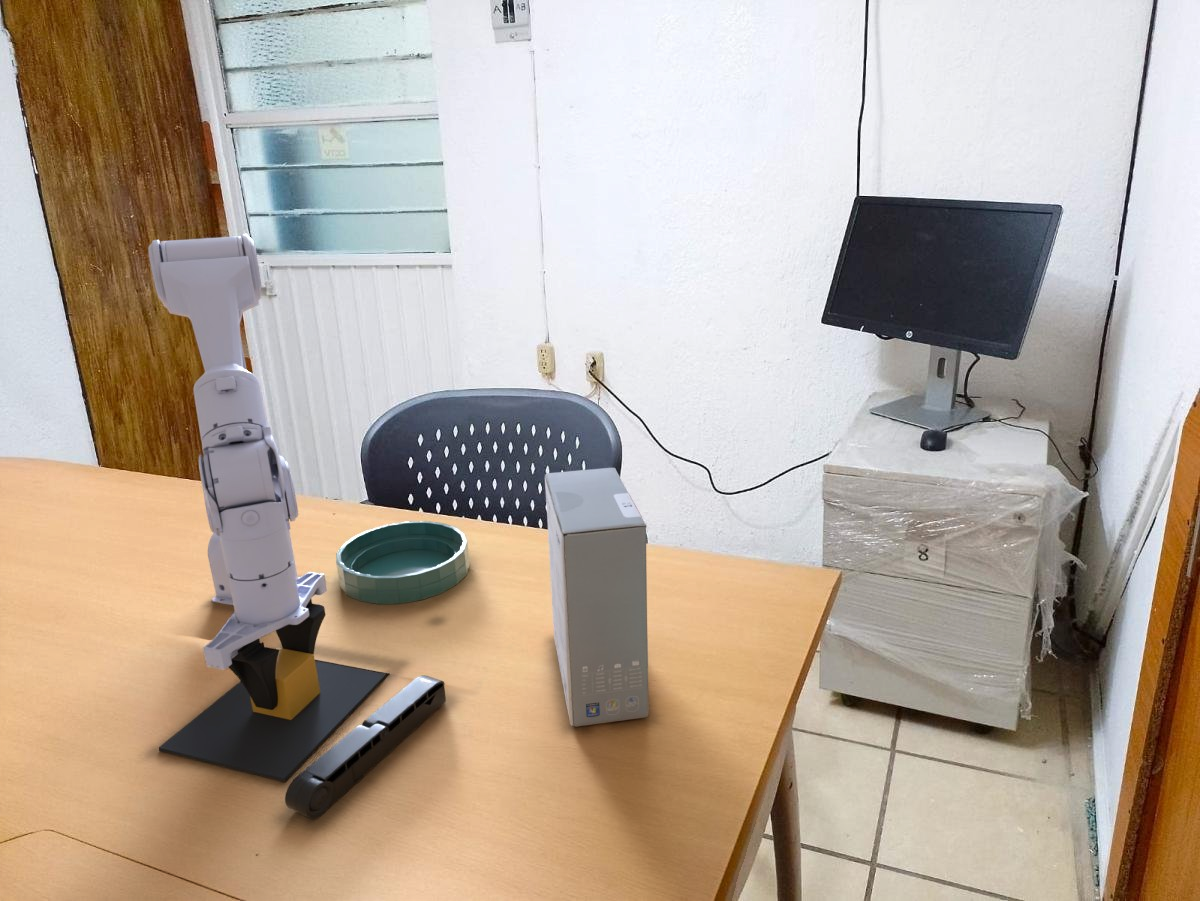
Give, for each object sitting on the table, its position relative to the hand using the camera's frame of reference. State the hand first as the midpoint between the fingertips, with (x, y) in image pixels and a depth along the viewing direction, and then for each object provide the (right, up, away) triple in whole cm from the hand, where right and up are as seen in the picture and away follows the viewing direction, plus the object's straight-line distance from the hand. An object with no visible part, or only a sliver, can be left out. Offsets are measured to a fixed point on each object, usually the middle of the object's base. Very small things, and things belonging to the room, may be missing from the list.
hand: (284, 690), depth 81 cm
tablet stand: (+11, -4, -7) cm, 13 cm away
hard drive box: (+31, 0, +3) cm, 31 cm away
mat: (0, -2, +1) cm, 2 cm away
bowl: (+6, +7, +25) cm, 27 cm away
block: (0, -1, 0) cm, 1 cm away
